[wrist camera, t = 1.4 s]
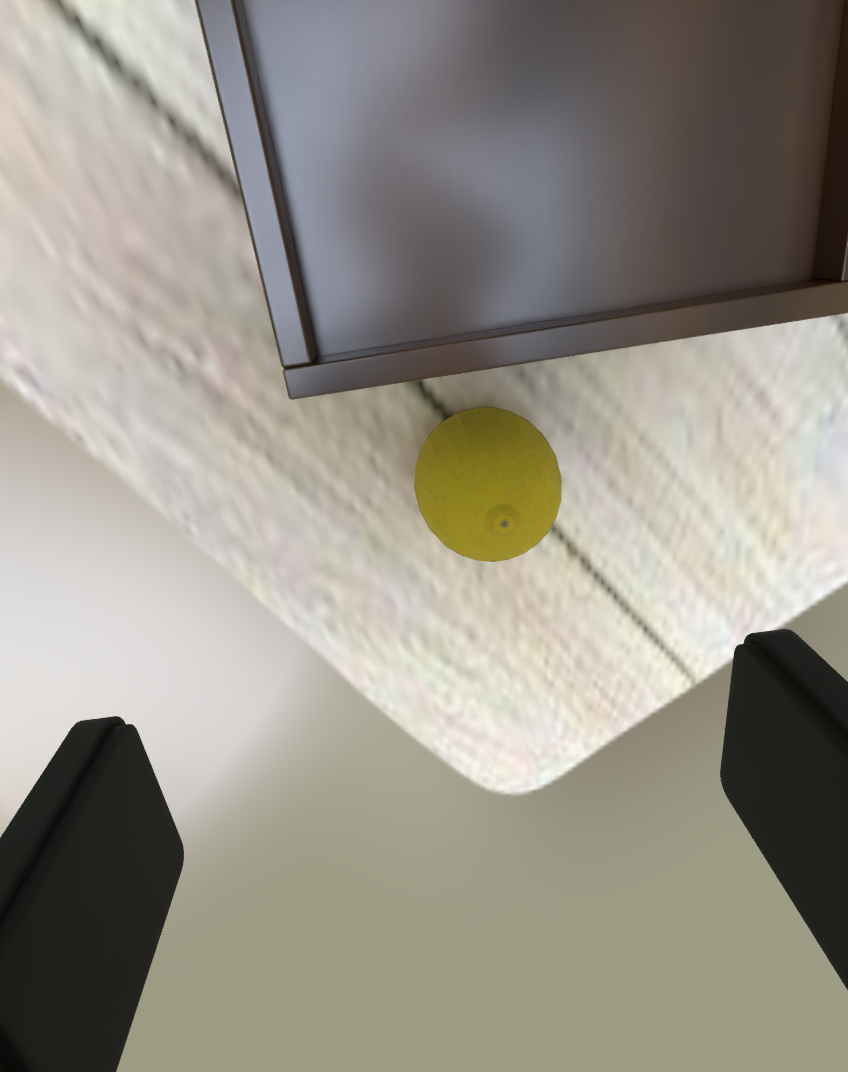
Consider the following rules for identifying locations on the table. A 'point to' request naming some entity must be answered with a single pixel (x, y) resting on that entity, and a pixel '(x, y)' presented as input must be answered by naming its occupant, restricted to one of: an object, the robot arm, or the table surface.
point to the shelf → (531, 175)
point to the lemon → (488, 484)
